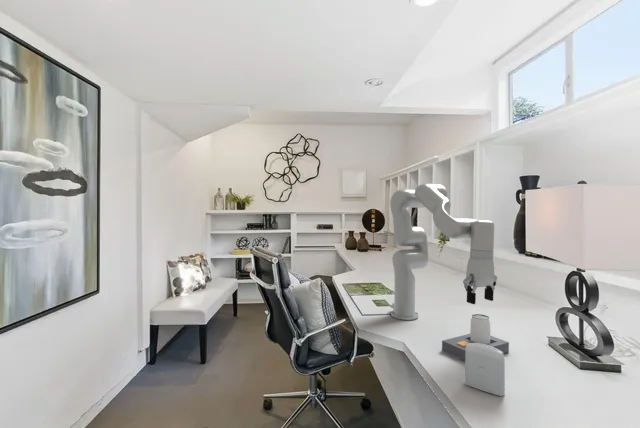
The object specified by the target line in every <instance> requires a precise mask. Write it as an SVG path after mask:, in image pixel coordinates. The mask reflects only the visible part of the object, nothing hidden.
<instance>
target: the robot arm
mask: <svg viewBox="0 0 640 428" xmlns="http://www.w3.org/2000/svg"><path fill="white" fill-rule="evenodd" d="M389 201H390V203H389V205H390V212H391V215H392V222H393V223H392V224H393V236H394V238H393V239H394V242H395V245H396V246H399V247H404V248H405V247H411V248H409V249H408V248H407V249H404V248H403V249H399V250H397V251H395V252H394V253H393V254H392V255H393V256H392V265H393V271H394V290H393V291H394V299H393V300H394V302H393V303H392V304H391V305H390V308H392V311H390V316H391V317H393V318H394V319H396V320H402V321H404V320H405V321H412V320H417V319H419V313H417V312H416V278H415V275H414V273H413V271H412V270H419V269H424V268H425V267H427V265H428V263H429V248H428V247H429V246H428V237H427V233H426V230H424V228H422V227H420V226H413V225H412V216H411V213H410V212H409V211H408V209H407V208H415V209H416V208H419V209H421V208H422V209H423V208H425V209H427V210H428V211H429V213H431V214H432V220H433V224H434V225H435V227H436V228H437V229H438V231H440V232H441V233H442V234H443V235H444V236H445V237H448V239H453V240H459V239H460V240H461V239H465V240H466V239H470V247H469V248H470V250H469V252H470V253H469V258H468V260H467V264H466V271H465V272H466V274H465V279H463V280H462V283H463V285H464V289H465V292H466V303H467V304H471V305H476V303H477V302H476V298H477V295H476V294H477V293H476V290H477V288H482V287H483V288H484V287H485V288H484V295H483V296H484V297H483V298H484V300H486V301H487V300H488V301H491V302H493V301H494V292H495V291H494V290H495V286H496V285H497V280H498V276H497V275H495V263H494V245H495V244H494V242H495V224H494V221H491V220H484V219H483V220H481V219H474V218H454V217H452V216H451V215H450V214H449V213H448V212H449V211H450V209H451V206H452V202H451V201H450V200H449V198H448V191H447V188H446V187H445V186H444V185H442V184H439V183H438V184H437V183H435V184H434V183H421V184H419V185H417V187H416V188H415V189H410V188H409V189H408V188H407V189H406V188H405V189H404V188H402V189H397V190H395V191H394V192H393V194H392V195H391V197H390V200H389Z"/></svg>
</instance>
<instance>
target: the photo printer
mask: <svg viewBox="0 0 640 428" xmlns="http://www.w3.org/2000/svg"><path fill="white" fill-rule="evenodd" d="M464 362H465V363H464V364H465V365H464V369H465V379H464V380H465V381H464V382H465V385H466V386H469V387H472V388H473V389H474V388H475V389H477V390H480V391H482V392H483V391H484V392H486V393H489V394H493V395H496V396H499V397H502V396H504V395H505V390H506V388H505V387H506V386H505V385H506V384H505V377H506V376H505V375H506V374H505V373H506V372H505V367H506V366H505V365H506V363H505V353H503V352H502V351H500V350H498V349H496V348H494V347H492V346H489V345H486V344H481V343H468V344H467V346H466V350H465V361H464Z"/></svg>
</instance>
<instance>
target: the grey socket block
mask: <svg viewBox="0 0 640 428" xmlns="http://www.w3.org/2000/svg"><path fill="white" fill-rule="evenodd" d="M468 343H476V342H473V341H470V333H467V334H463V335H459V336H455V337H451V338H447V339H443V340H441V350H442V352H445V353H447V354H450V355H451V356H453V357H455V358H456V359H457V358H458V359H460V360H462V361H464V362H465V350H466V346H467V344H468ZM488 345H489V346H492V347H494V348H496V349H498V350H500V351H502V352H503V353H504V354H506V353H509V352H510V342H509V341H507V340H504V339H501V338H498V337H495V336H492V335H490V344H488Z"/></svg>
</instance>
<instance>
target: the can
mask: <svg viewBox="0 0 640 428" xmlns="http://www.w3.org/2000/svg"><path fill="white" fill-rule="evenodd" d="M469 334H470V341H473V342H476V343H481V344H486V345H488V344H490V336H491V320H490V317H489V316H488V315H485V314H482V313H481V314H480V313H474V314H472V315H471V318H470V333H469Z"/></svg>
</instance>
